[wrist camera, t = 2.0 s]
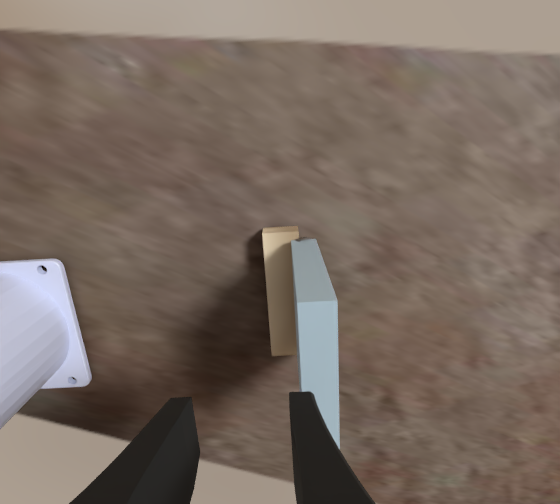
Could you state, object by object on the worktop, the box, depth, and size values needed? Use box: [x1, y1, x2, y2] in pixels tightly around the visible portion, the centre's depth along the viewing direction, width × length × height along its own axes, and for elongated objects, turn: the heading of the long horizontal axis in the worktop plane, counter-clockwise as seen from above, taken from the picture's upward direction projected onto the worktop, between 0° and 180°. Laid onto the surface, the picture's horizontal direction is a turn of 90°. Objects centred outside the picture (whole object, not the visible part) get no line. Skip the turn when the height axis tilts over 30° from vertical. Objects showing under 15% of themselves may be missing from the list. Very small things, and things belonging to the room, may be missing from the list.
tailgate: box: [291, 237, 340, 450], centre depth 15 cm, size 1×6×7 cm, turn 3°
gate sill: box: [262, 226, 299, 356], centre depth 19 cm, size 2×7×1 cm, turn 3°
